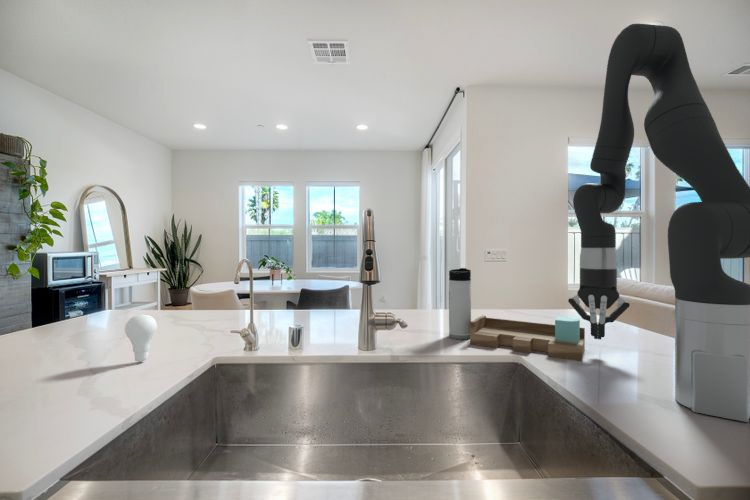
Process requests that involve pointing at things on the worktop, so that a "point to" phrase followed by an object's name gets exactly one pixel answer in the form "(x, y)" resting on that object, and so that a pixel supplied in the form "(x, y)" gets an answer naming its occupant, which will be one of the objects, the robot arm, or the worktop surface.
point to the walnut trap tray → (524, 337)
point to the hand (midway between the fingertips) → (597, 338)
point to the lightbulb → (141, 334)
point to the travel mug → (459, 303)
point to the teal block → (567, 329)
